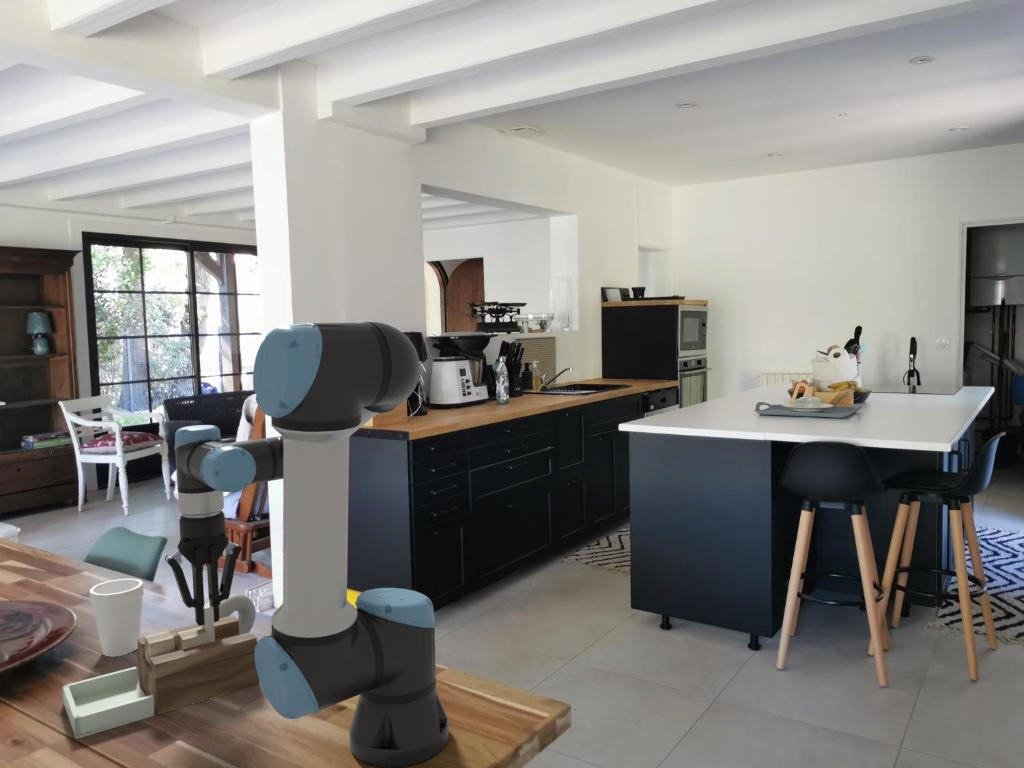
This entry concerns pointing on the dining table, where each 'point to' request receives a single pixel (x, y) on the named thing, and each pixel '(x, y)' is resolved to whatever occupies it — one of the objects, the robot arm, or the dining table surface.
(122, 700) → the tray
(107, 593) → the foam cup
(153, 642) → the tan wooden cube
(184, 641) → the beige wooden cube
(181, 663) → the slot board
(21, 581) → the dining table surface
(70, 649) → the dining table surface
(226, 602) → the donut
